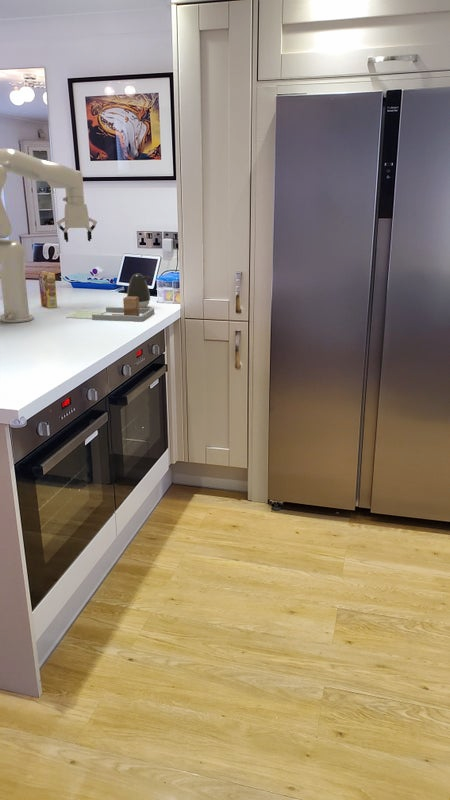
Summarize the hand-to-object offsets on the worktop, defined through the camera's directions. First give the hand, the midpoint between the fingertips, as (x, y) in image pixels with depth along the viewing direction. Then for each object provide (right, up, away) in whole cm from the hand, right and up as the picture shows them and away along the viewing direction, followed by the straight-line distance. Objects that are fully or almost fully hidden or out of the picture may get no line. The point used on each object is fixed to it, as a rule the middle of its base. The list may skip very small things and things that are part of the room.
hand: (78, 241), depth 276 cm
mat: (+6, -34, -12) cm, 37 cm away
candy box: (-15, -28, +7) cm, 32 cm away
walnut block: (+23, -35, -15) cm, 45 cm away
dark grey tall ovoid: (+27, -29, +4) cm, 39 cm away
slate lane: (+23, -35, -15) cm, 44 cm away
